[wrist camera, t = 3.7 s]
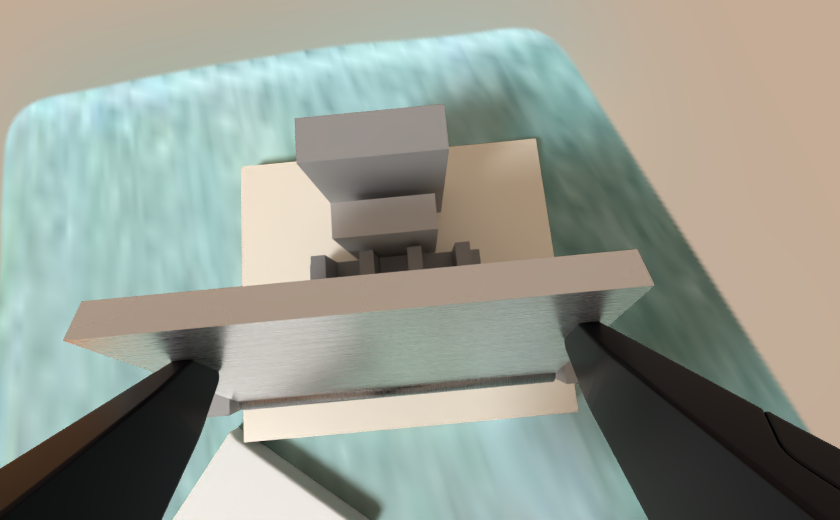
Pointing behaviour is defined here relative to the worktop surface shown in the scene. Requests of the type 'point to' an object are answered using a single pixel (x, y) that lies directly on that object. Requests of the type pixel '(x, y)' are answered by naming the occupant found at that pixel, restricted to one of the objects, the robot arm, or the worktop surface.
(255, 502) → the external hard drive
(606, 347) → the robot arm
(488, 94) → the worktop surface
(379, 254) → the board
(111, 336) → the brushed grey panel
